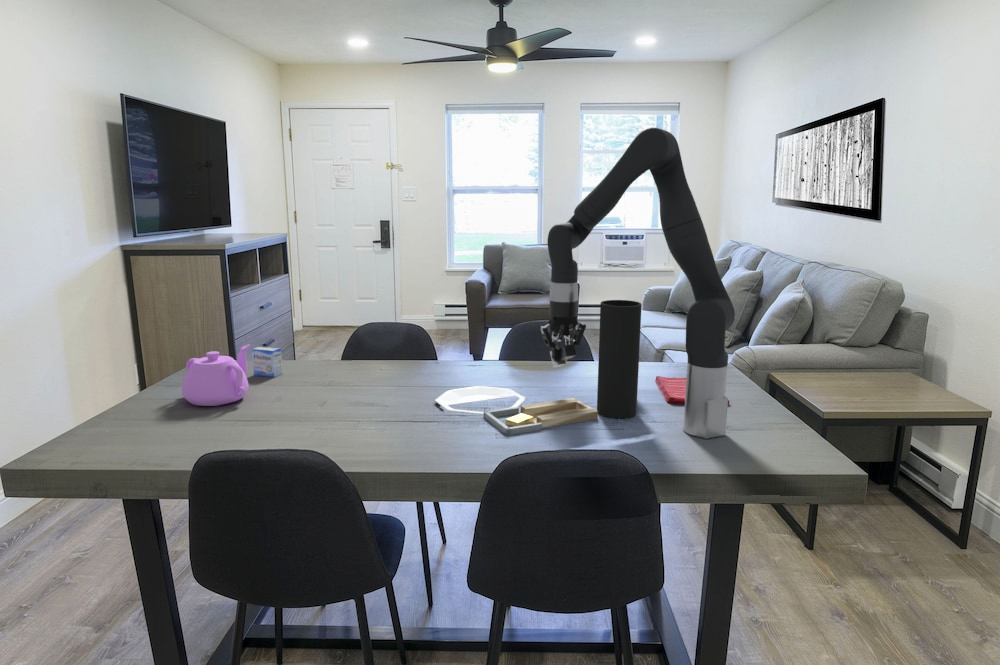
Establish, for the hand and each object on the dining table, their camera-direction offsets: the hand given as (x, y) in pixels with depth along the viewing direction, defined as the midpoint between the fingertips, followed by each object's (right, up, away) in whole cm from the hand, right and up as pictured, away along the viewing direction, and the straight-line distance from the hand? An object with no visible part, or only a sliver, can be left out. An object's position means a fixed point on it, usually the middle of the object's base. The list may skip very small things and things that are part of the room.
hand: (562, 360), depth 180 cm
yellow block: (-11, -15, -15) cm, 24 cm away
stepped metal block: (-2, 0, +3) cm, 4 cm away
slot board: (-2, -15, -10) cm, 18 cm away
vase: (+13, -14, -8) cm, 21 cm away
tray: (-14, -16, -15) cm, 26 cm away
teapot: (-96, -11, +7) cm, 97 cm away
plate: (-22, -12, +3) cm, 26 cm away
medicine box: (-91, -6, +31) cm, 96 cm away
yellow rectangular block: (-13, -16, -17) cm, 26 cm away
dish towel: (+39, -11, +13) cm, 42 cm away
